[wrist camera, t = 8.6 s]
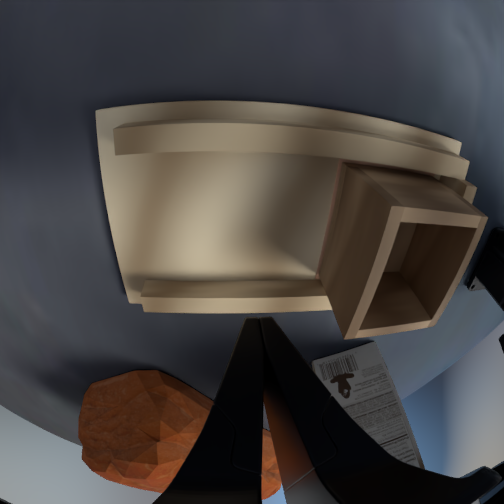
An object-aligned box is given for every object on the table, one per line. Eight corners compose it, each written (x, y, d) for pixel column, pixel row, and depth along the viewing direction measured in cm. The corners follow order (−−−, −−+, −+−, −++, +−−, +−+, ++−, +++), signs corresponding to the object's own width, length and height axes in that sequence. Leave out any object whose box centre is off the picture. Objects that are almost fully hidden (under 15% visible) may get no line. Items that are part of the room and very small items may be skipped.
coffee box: (371, 382, 28) (409, 505, 15) (317, 399, 29) (345, 526, 15) (376, 338, 23) (436, 501, 10) (308, 359, 24) (347, 534, 10)
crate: (431, 176, 14) (488, 217, 10) (399, 272, 18) (434, 326, 13) (342, 162, 13) (391, 205, 9) (318, 275, 17) (343, 339, 13)
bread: (207, 452, 40) (209, 506, 31) (73, 386, 26) (55, 465, 17) (291, 434, 36) (301, 496, 27) (165, 356, 22) (154, 476, 13)
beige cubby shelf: (455, 139, 13) (487, 155, 11) (404, 291, 20) (421, 318, 17) (100, 109, 11) (71, 119, 9) (131, 296, 18) (120, 330, 15)
